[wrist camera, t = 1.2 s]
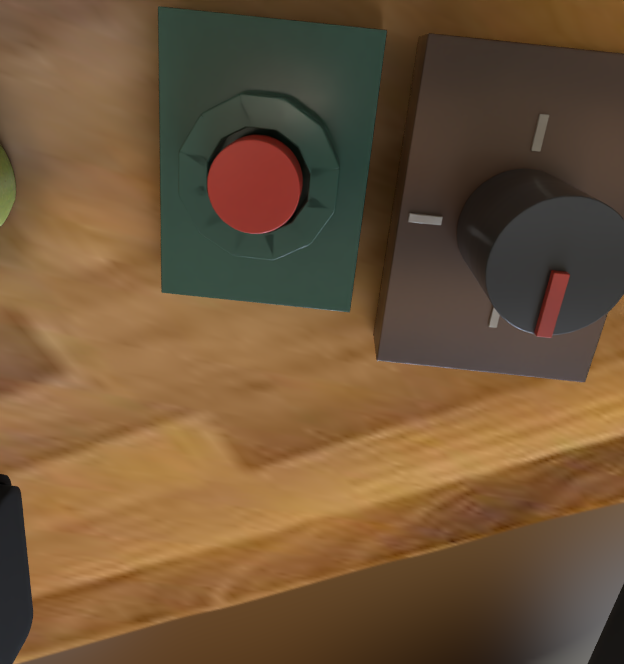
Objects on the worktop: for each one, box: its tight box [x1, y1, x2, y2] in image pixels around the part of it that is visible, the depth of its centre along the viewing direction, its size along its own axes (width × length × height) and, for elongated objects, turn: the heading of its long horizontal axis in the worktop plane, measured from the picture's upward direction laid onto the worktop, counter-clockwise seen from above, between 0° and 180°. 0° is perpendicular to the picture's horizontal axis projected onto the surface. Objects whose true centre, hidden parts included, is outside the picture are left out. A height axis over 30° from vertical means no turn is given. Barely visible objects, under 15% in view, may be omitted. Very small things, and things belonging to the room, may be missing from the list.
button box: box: [158, 6, 387, 312], centre depth 26 cm, size 12×9×4 cm
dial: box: [457, 169, 624, 338], centre depth 23 cm, size 5×5×6 cm
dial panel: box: [373, 33, 624, 382], centre depth 26 cm, size 14×10×3 cm
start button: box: [207, 134, 303, 234], centre depth 23 cm, size 4×4×2 cm
